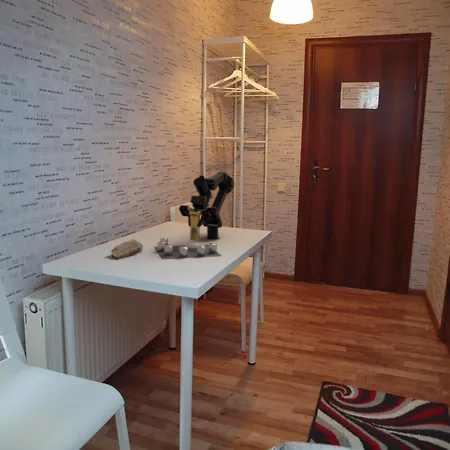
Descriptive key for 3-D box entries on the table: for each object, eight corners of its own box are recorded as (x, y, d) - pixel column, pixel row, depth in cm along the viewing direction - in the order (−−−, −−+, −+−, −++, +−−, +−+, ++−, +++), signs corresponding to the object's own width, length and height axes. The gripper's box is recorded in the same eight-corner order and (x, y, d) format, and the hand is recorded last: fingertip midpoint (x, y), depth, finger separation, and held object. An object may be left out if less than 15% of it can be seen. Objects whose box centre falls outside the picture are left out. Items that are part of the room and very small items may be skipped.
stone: (133, 237, 204) (148, 233, 198) (137, 251, 204) (153, 246, 199) (99, 251, 186) (115, 246, 181) (105, 266, 187) (121, 261, 181)
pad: (183, 244, 210) (183, 243, 209) (201, 244, 212) (201, 242, 212) (187, 249, 201) (187, 247, 201) (206, 248, 204) (206, 247, 204)
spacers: (162, 246, 206) (162, 237, 205) (218, 252, 197) (218, 243, 196) (145, 253, 192) (145, 244, 191) (204, 260, 182) (204, 250, 182)
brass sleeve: (187, 237, 208) (188, 210, 205) (199, 237, 209) (199, 210, 207) (190, 240, 203) (190, 212, 200) (201, 239, 204) (202, 212, 202)
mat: (153, 247, 205) (153, 246, 205) (208, 245, 212) (208, 244, 212) (161, 260, 182) (161, 259, 182) (222, 257, 190) (222, 256, 190)
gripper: (180, 188, 209) (169, 214, 201) (217, 190, 202) (208, 217, 194) (187, 202, 217) (177, 228, 209) (223, 205, 211) (214, 232, 203)
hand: (193, 226), depth 204 cm, fingers closed on brass sleeve, 4 cm apart
